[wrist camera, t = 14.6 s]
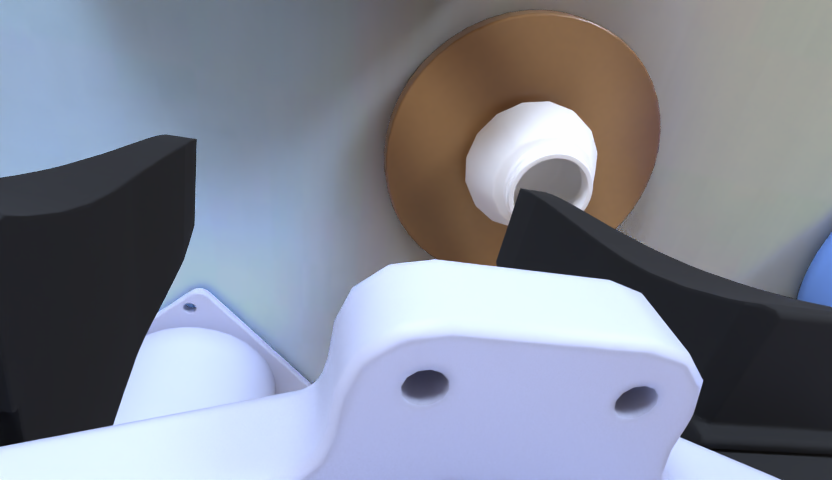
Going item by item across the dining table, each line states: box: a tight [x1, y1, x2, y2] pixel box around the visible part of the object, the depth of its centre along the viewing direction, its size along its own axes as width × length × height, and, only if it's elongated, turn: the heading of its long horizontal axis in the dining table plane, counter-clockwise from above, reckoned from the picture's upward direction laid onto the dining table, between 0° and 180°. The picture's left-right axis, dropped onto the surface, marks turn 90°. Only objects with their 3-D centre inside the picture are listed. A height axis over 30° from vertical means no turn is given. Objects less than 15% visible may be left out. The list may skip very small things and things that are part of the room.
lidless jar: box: [465, 101, 597, 226], centre depth 21 cm, size 5×3×5 cm
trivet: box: [384, 10, 660, 267], centre depth 22 cm, size 11×11×1 cm
